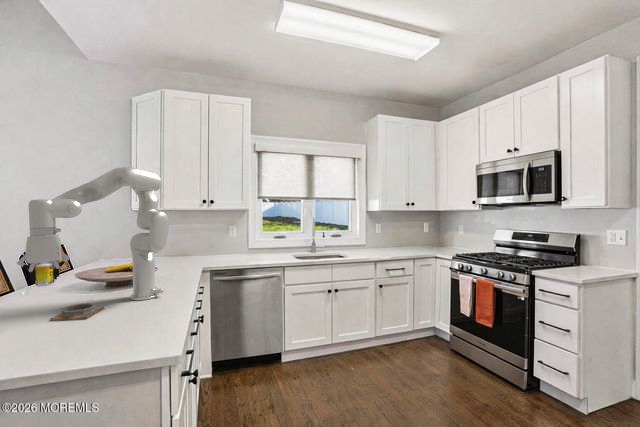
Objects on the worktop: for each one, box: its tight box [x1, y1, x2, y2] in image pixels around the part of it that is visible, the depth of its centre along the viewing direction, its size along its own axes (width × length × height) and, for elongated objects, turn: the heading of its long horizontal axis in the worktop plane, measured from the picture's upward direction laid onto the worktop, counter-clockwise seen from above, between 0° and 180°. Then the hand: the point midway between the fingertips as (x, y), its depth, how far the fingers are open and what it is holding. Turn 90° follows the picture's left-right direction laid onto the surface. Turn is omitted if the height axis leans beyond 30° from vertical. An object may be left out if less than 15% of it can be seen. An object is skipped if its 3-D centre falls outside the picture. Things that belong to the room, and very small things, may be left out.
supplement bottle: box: [34, 262, 56, 288], centre depth 121 cm, size 6×6×10 cm
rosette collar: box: [49, 303, 105, 322], centre depth 132 cm, size 13×13×3 cm
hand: (45, 279), depth 121 cm, fingers closed on supplement bottle, 5 cm apart
